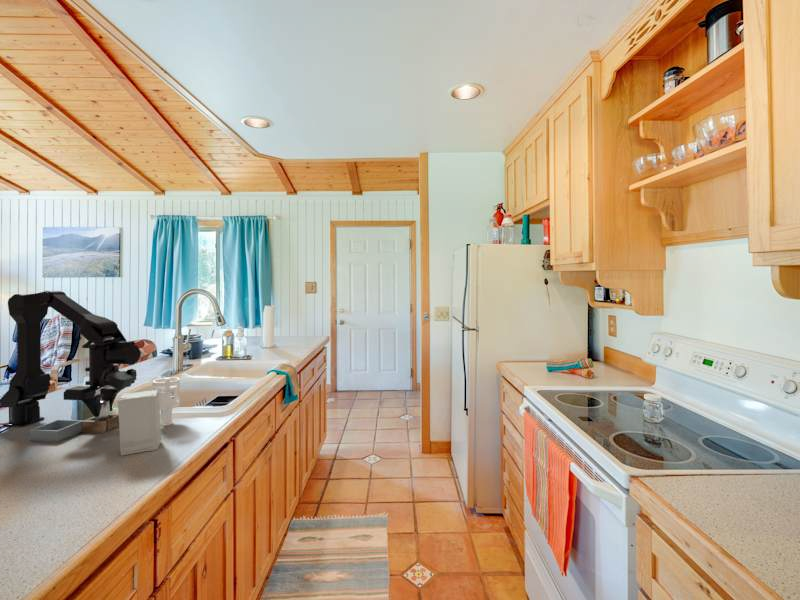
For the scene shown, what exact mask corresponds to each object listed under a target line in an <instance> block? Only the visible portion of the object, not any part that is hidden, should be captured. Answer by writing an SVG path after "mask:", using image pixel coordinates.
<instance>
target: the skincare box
mask: <svg viewBox="0 0 800 600" xmlns="http://www.w3.org/2000/svg"><path fill="white" fill-rule="evenodd" d="M117 410H118V411H117V412H118V413H117V414H118V415H119V425H118V429H119V446H120V456H127V455H133V454H134V455H135V454H138V453H144V452H151V451H156V450H158V449H159V446H160V445H161V442H162V428H161V426H162V425H161V410H160V407H159V390H156V389H155V390H153V389H151V390H145V391H138V392H137V391H135V392H128V393H122V395H121V396H120V397H119V398H118V400H117Z"/></svg>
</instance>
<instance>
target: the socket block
mask: <svg viewBox="0 0 800 600" xmlns="http://www.w3.org/2000/svg"><path fill="white" fill-rule="evenodd" d="M116 427H119V415H118V413H110V418H109V419H106V420H105V421H95V417H94V416H91V417H89V418H86V419H84V420H83V421H82V431H81V432H86V433H105V432H107V431H109V430H112V429H113V428H116Z"/></svg>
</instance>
